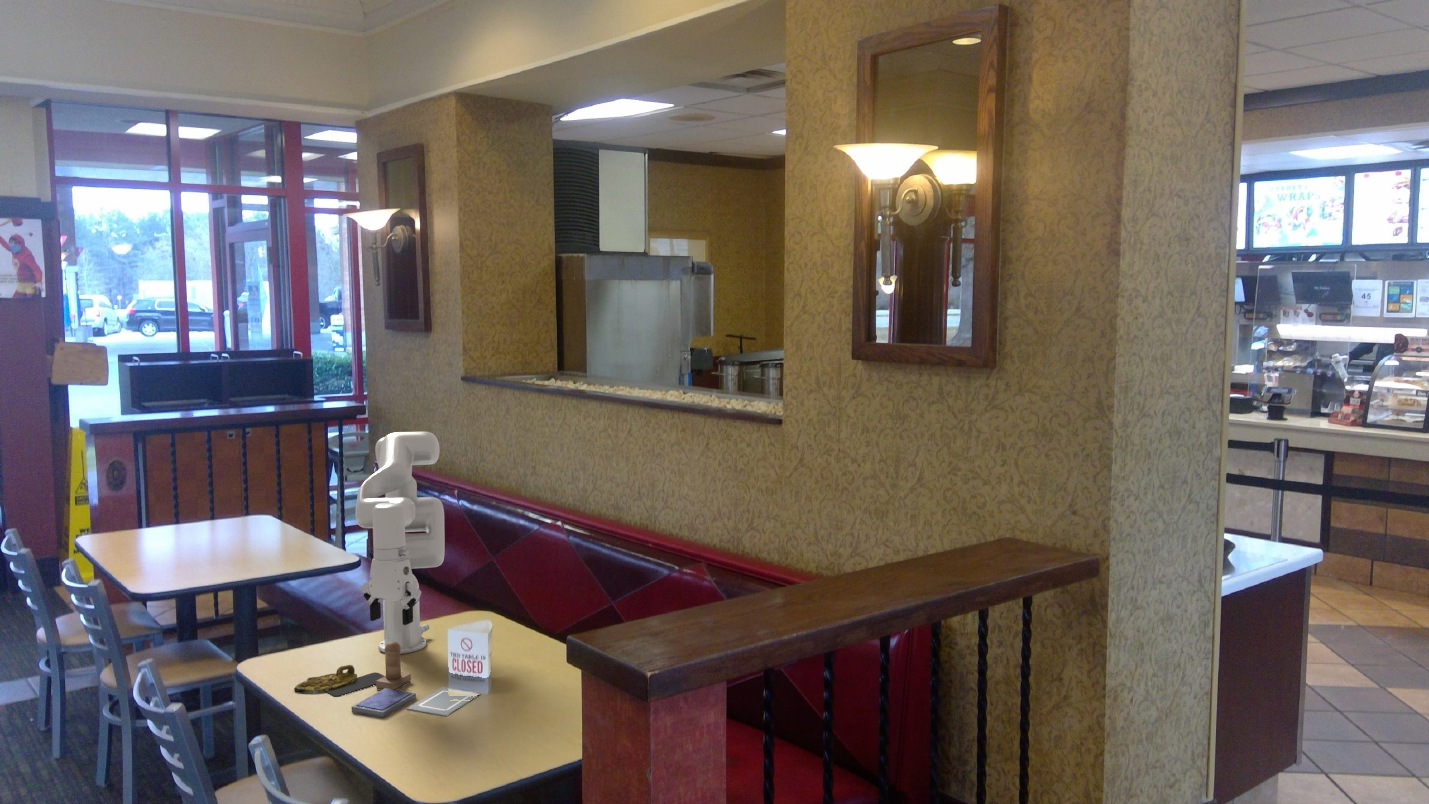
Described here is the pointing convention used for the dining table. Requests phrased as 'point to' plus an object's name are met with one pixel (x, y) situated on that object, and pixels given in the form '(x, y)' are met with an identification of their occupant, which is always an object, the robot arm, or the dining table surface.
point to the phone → (356, 685)
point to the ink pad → (383, 703)
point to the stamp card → (440, 703)
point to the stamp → (393, 669)
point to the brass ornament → (328, 681)
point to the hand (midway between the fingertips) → (391, 621)
